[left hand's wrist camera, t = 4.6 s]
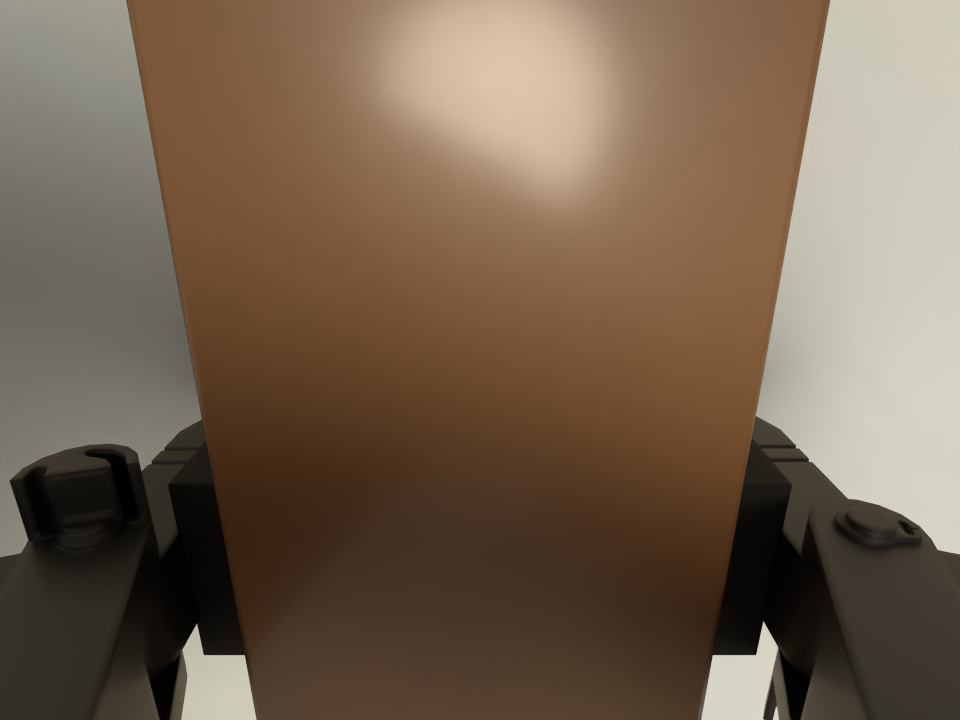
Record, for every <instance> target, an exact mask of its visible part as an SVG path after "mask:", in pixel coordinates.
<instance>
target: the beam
mask: <svg viewBox="0 0 960 720" xmlns="http://www.w3.org/2000/svg"><path fill="white" fill-rule="evenodd" d="M126 1H127V6H128V12H129V17H130V23H131V28H132V34H133V39H134V45H135V51H136V56H137V62H138V67H139V73H140V78H141V84H142V89H143V95H144V100H145V106H146V111H147V117H148V122H149V128H150V133H151V139H152V144H153V150H154V155H155V161H156V167H157V172H158V178H159V183H160V189H161V194H162V200H163V205H164V211H165V216H166V222H167V227H168V233H169V238H170V244H171V249H172V255H173V260H174V266H175V271H176V277H177V282H178V288H179V294H180V299H181V305H182V310H183V316H184V321H185V327H186V332H187V338H188V343H189V349H190V354H191V360H192V365H193V371H194V376H195V382H196V387H197V393H198V398H199V404H200V410H201V415H202V421H203V426H204V432H205V437H206V443H207V448H208V454H209V459H210V465H211V470H212V476H213V481H214V487H215V492H216V498H217V503H218V509H219V514H220V520H221V525H222V531H223V537H224V542H225V548H226V553H227V559H228V564H229V570H230V575H231V581H232V586H233V592H234V597H235V603H236V608H237V614H238V619H239V625H240V630H241V636H242V641H243V647H244V653H245V658H246V664H247V669H248V675H249V680H250V686H251V691H252V697H253V702H254V708H255V713H256V719H257V720H701V717H702V711H703V706H704V700H705V695H706V689H707V684H708V678H709V672H710V667H711V661H712V656H713V650H714V645H715V639H716V633H717V628H718V622H719V617H720V611H721V606H722V600H723V594H724V589H725V583H726V578H727V572H728V567H729V561H730V555H731V550H732V544H733V539H734V533H735V528H736V522H737V516H738V511H739V505H740V500H741V494H742V489H743V483H744V477H745V472H746V466H747V461H748V455H749V449H750V444H751V438H752V433H753V427H754V422H755V416H756V410H757V405H758V399H759V394H760V388H761V383H762V377H763V371H764V366H765V360H766V355H767V349H768V344H769V338H770V332H771V327H772V321H773V316H774V310H775V305H776V299H777V293H778V288H779V282H780V277H781V271H782V266H783V260H784V254H785V249H786V243H787V238H788V232H789V227H790V221H791V215H792V210H793V204H794V199H795V193H796V188H797V182H798V176H799V171H800V165H801V160H802V154H803V148H804V143H805V137H806V132H807V126H808V121H809V115H810V109H811V104H812V98H813V93H814V87H815V82H816V76H817V70H818V65H819V59H820V54H821V48H822V43H823V37H824V31H825V26H826V20H827V15H828V9H829V4H830V0H126Z"/></svg>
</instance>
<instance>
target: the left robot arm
mask: <svg viewBox="0 0 960 720" xmlns="http://www.w3.org/2000/svg"><path fill="white" fill-rule="evenodd" d="M10 483H11V486H12V489H13V493H14V496H15V499H16V502H17V505H18V508H19V511H20V515H21V518H22V521H23V524H24V527H25V530H26V533H27V536H28V540H29V541H28V542H27V544H26V546H25V548H24V549H23V551H22V553H20V554H16V555H11V556H6V557H0V720H181V717H182V710H183V703H184V696H185V689H186V682H187V672H186V664H185V660H184V656H183V651H182V649H183V647H184V646H185V644H186V642H187V640H188V638H189V637H190V635H191V633H192V631H193V630H194V628H195V626H196V624H197V625H198V629H199V634H200V639H201V643H202V648H203V653H204V655H245V653H244V647H243V641H242V636H241V630H240V625H239V619H238V614H237V608H236V603H235V597H234V592H233V586H232V581H231V575H230V570H229V564H228V559H227V553H226V548H225V542H224V537H223V531H222V525H221V520H220V514H219V509H218V503H217V498H216V492H215V487H214V481H213V476H212V470H211V465H210V459H209V454H208V448H207V443H206V437H205V432H204V426H203V421H202V420H200V421H199V422H197V423H195V424H193V425H191V426H189V427H188V428H186V429H184V430H182V431H180V432H179V433H178V434H177V435H176V436H175V438H174V439H173V440H172V441H171V442H170V443H169V444H168V445H167V446H166V447H165V451H161V452H160V453H159V454H158V455H157V456H156V457H155V458H154V459H153V460H152V464H151V465H147V467H146V468H145V469H144V470H143V471H142V472H141V468H140V463H139V459H138V454H137V453H136V452H135V451H133V450H132V449H130V448H129V447H127V446H121V445H115V444H100V445H88V446H83V447H78V448H73V449H68V450H64V451H61V452H59V453H56V454H53V455H50V456H47V457H44V458H42V459H40V460H38V461H36V462H34V463H33V464H31V465H29V466H27V467H25V468H23V469H22V470H21V471H20V472H19V473H17V474H16V475H15V476H14V477H13V478H12V479H11V480H10ZM763 621H764V623H765V624H766V626H767V628H768V630H769V632H770V633H771V635H772V637H773V639H774V640H775V642H776V644H777V646H778V651H777V656H776V660H775V664H774V669H773V673H772V677H771V682H770V686H769V690H768V695H767V699H766V704H765V710H764V717H763V719H764V720H773V716H774V712H775V708H776V707H777V708H778V715H779V720H960V554H954V553H949V552H944V551H940V550H937V548H936V547H935V545H934V543H933V541H932V540H931V538H930V537H929V536H928V535H927V534H926V533H925V532H924V531H923V530H922V528H921V527H920V526H918V525H917V524H915V523H914V522H912V521H911V520H909V519H907V518H906V517H904V516H903V515H901V514H899V513H897V512H894V511H892V510H889V509H887V508H884V507H882V506H880V505H876V504H872V503H868V502H864V501H860V500H854V499H847V498H846V497H845V495H844V494H843V493H842V492H841V491H840V490H839V489H838V488H837V487H836V486H835V485H834V484H833V483H832V482H831V481H830V480H829V479H828V478H827V477H826V476H825V475H824V474H823V473H822V472H821V471H820V470H819V469H818V468H817V467H816V466H815V465H814V464H813V463H812V462H809V458H808V457H807V456H806V455H805V454H804V453H803V452H802V451H801V450H800V449H796V445H795V444H794V443H793V442H792V441H791V440H790V439H789V438H788V437H787V436H786V435H785V434H784V433H783V432H782V431H781V430H780V429H779V428H777V427H775V426H773V425H771V424H769V423H768V422H766V421H764V420H762V419H760V418H758V417H757V416H755V422H754V427H753V433H752V438H751V444H750V449H749V455H748V461H747V466H746V472H745V477H744V483H743V489H742V494H741V500H740V505H739V511H738V516H737V522H736V528H735V533H734V539H733V544H732V550H731V555H730V561H729V567H728V572H727V578H726V583H725V589H724V594H723V600H722V606H721V611H720V617H719V622H718V628H717V633H716V639H715V645H714V650H713V655H756V653H757V648H758V643H759V639H760V634H761V629H762V625H763Z"/></svg>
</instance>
